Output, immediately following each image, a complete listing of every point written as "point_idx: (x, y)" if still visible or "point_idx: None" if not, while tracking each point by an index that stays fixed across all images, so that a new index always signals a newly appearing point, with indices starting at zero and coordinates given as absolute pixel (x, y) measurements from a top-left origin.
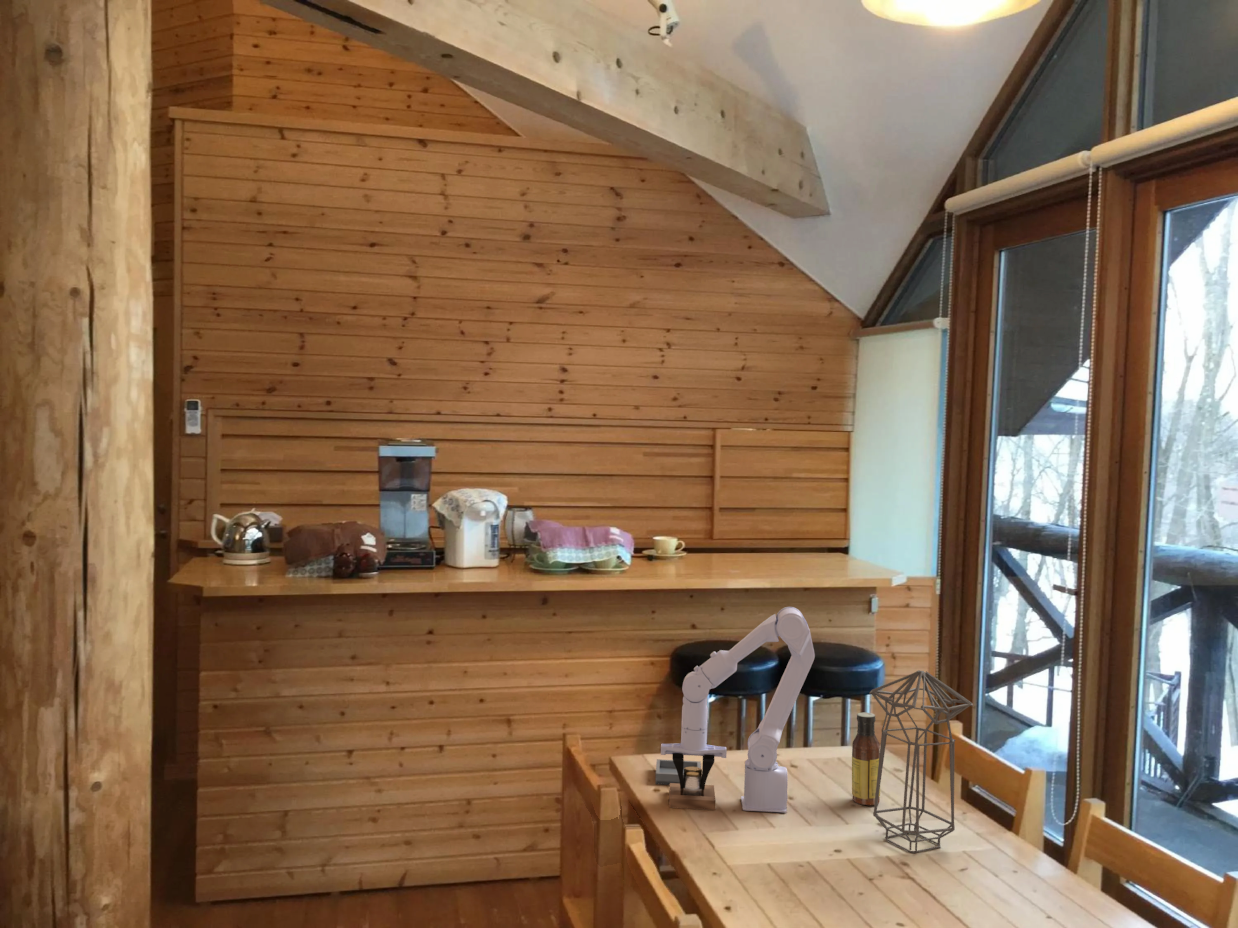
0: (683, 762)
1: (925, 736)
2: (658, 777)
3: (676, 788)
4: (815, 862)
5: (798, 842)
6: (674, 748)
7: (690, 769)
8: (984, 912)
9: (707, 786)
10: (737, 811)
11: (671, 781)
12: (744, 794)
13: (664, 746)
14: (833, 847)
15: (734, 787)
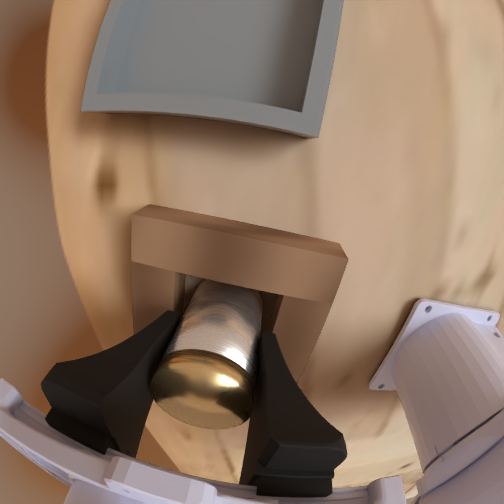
0: (135, 457)
1: None
2: (102, 111)
3: (158, 285)
4: (355, 485)
5: (375, 462)
6: (62, 478)
7: (186, 399)
8: (416, 494)
9: (310, 273)
10: (350, 385)
11: (162, 114)
12: (402, 377)
13: (12, 445)
14: (408, 462)
15: (444, 176)
